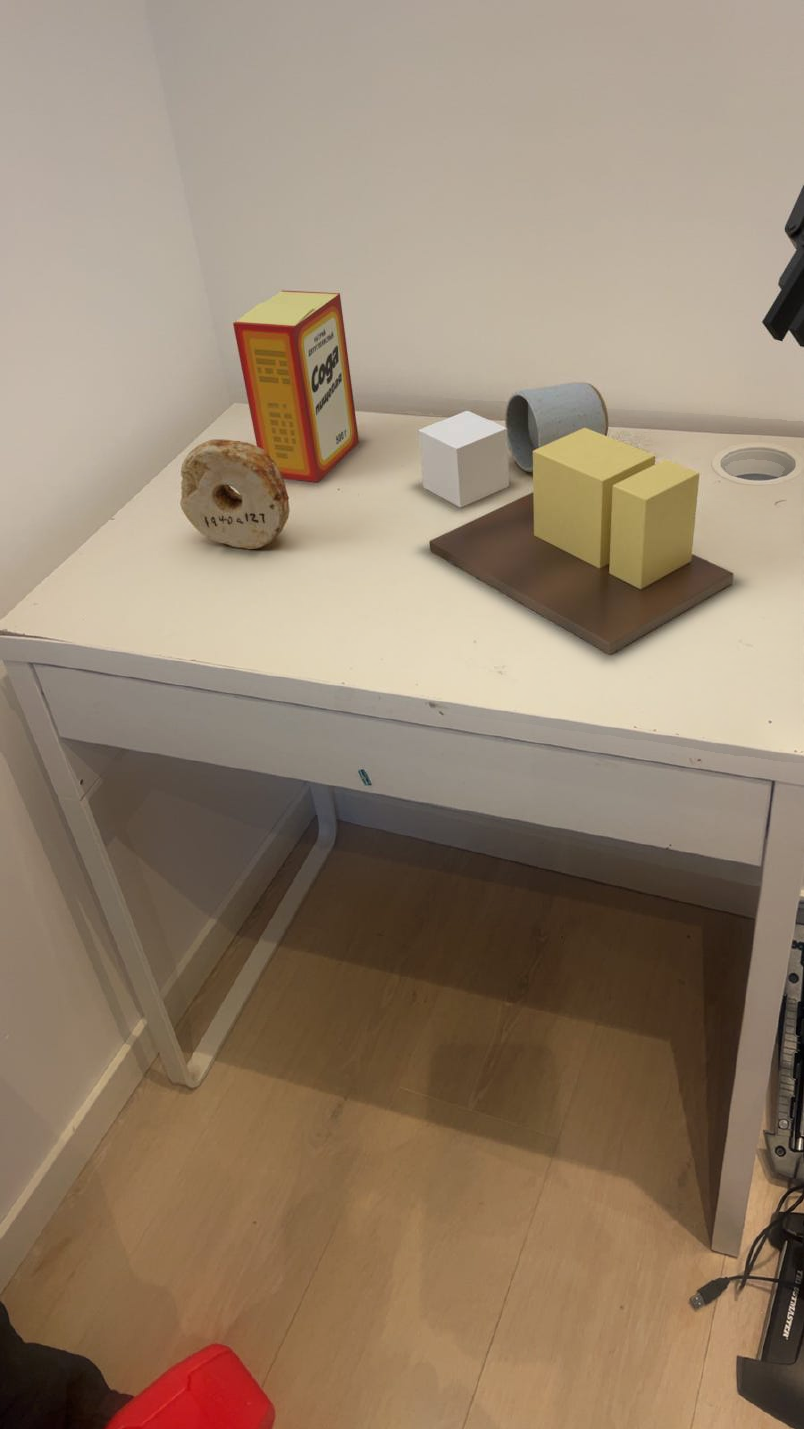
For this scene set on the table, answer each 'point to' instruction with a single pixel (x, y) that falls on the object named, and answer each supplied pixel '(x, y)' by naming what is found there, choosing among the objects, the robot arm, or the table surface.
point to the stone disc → (234, 493)
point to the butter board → (572, 579)
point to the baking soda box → (298, 381)
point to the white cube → (464, 458)
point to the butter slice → (653, 523)
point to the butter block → (581, 491)
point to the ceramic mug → (551, 417)
